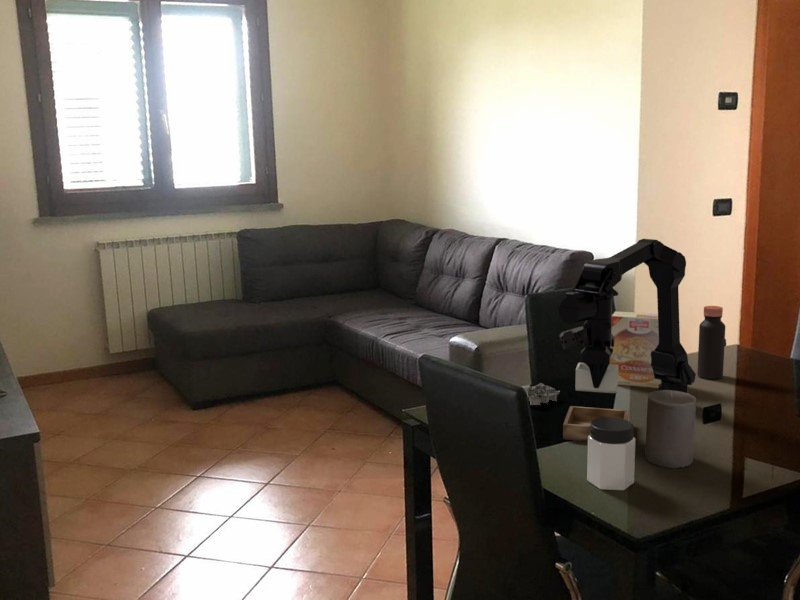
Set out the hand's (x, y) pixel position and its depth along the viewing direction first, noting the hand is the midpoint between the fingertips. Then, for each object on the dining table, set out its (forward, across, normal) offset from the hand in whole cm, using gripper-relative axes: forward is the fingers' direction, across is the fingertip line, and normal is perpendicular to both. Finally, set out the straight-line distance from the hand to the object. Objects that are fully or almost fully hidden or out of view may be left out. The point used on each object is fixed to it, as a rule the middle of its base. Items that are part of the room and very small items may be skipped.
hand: (597, 383), depth 182 cm
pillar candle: (+12, +13, +16) cm, 24 cm away
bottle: (+12, -53, +27) cm, 61 cm away
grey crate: (+1, 0, 0) cm, 1 cm away
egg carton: (+12, -19, -17) cm, 28 cm away
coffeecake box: (+12, -42, +8) cm, 44 cm away
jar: (+12, +28, +5) cm, 31 cm away
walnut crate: (+12, 0, 0) cm, 12 cm away
